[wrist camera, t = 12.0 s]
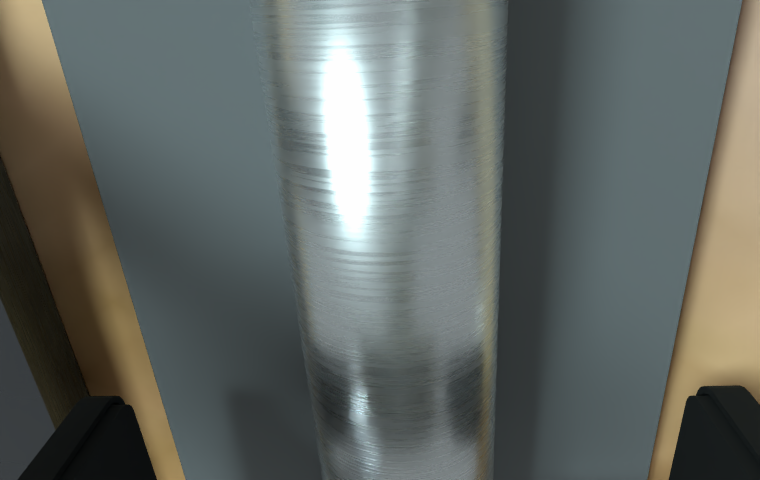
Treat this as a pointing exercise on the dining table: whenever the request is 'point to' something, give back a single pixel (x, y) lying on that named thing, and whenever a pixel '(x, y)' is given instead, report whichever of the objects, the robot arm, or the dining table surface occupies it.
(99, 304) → the dining table surface
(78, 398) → the hook stands
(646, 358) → the rubber mat
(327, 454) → the steel rail
